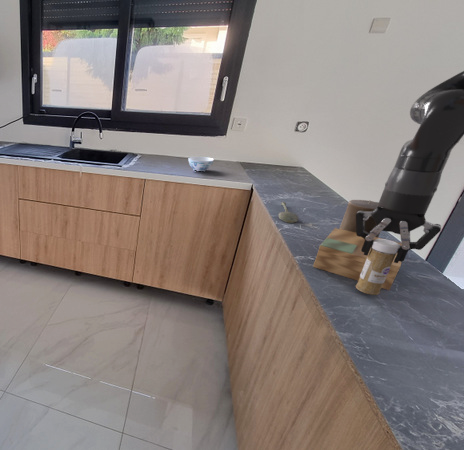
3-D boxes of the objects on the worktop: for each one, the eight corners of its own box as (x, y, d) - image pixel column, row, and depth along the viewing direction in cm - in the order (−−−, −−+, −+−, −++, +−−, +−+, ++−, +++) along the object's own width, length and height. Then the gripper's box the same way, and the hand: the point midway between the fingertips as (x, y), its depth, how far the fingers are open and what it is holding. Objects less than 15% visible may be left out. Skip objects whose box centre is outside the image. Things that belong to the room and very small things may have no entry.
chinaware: (187, 172, 196) (188, 160, 193) (186, 167, 209) (188, 156, 206) (213, 174, 191) (215, 161, 188) (210, 168, 204) (212, 157, 201)
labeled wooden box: (397, 265, 89) (407, 243, 87) (389, 290, 79) (400, 266, 76) (328, 247, 101) (335, 227, 98) (312, 267, 90) (320, 245, 87)
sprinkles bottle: (374, 297, 75) (395, 248, 69) (351, 288, 78) (369, 240, 73) (383, 292, 77) (404, 243, 71) (360, 283, 80) (379, 236, 75)
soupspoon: (277, 222, 122) (297, 226, 119) (280, 215, 120) (300, 218, 117) (274, 204, 139) (292, 206, 136) (276, 197, 137) (294, 199, 134)
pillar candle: (363, 252, 97) (381, 207, 91) (328, 239, 106) (343, 198, 100) (381, 246, 101) (399, 202, 95) (346, 234, 109) (361, 193, 103)
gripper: (460, 191, 64) (425, 263, 71) (367, 180, 75) (345, 243, 81) (460, 200, 60) (423, 275, 67) (362, 186, 70) (338, 253, 77)
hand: (380, 257), depth 74 cm, fingers closed on sprinkles bottle, 4 cm apart
